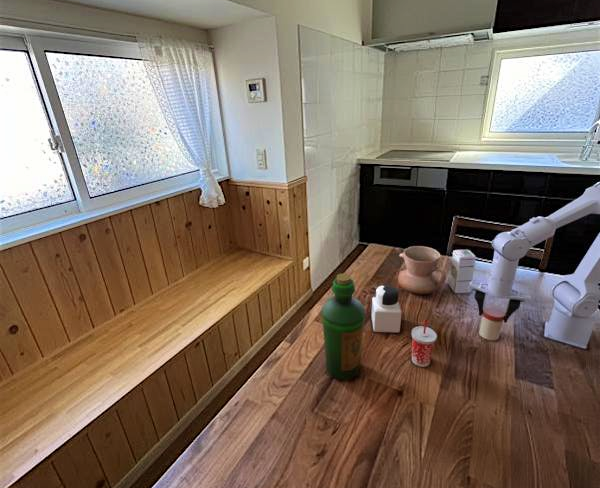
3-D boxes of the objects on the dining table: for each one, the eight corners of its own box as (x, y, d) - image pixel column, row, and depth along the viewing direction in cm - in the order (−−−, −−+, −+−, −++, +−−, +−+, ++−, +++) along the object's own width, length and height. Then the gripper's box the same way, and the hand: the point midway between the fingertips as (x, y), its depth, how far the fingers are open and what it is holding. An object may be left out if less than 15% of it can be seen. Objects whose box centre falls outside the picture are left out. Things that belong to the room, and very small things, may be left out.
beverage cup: (412, 369, 88) (417, 325, 82) (406, 352, 93) (410, 310, 87) (436, 368, 87) (442, 325, 82) (428, 352, 93) (434, 310, 87)
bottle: (362, 387, 83) (366, 291, 72) (319, 381, 85) (317, 287, 74) (363, 356, 93) (367, 267, 81) (325, 352, 95) (323, 264, 83)
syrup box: (470, 293, 118) (477, 256, 112) (453, 293, 118) (459, 256, 112) (463, 284, 123) (470, 249, 117) (447, 285, 123) (452, 249, 118)
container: (395, 317, 108) (398, 282, 102) (399, 333, 101) (403, 296, 95) (371, 316, 108) (372, 282, 103) (373, 332, 101) (375, 296, 96)
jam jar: (499, 332, 99) (504, 311, 96) (498, 342, 95) (503, 320, 92) (480, 326, 102) (484, 305, 98) (477, 336, 98) (482, 315, 95)
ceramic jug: (386, 285, 125) (388, 251, 119) (409, 272, 133) (413, 240, 127) (430, 307, 112) (435, 269, 106) (453, 290, 120) (458, 255, 114)
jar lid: (479, 316, 95) (480, 312, 95) (484, 307, 99) (485, 302, 99) (502, 324, 92) (503, 319, 91) (506, 313, 96) (507, 309, 95)
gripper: (534, 275, 89) (523, 317, 95) (474, 263, 97) (467, 302, 102) (534, 288, 84) (522, 331, 90) (470, 274, 92) (463, 315, 97)
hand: (492, 317), depth 96 cm, fingers closed on jar lid, 5 cm apart
